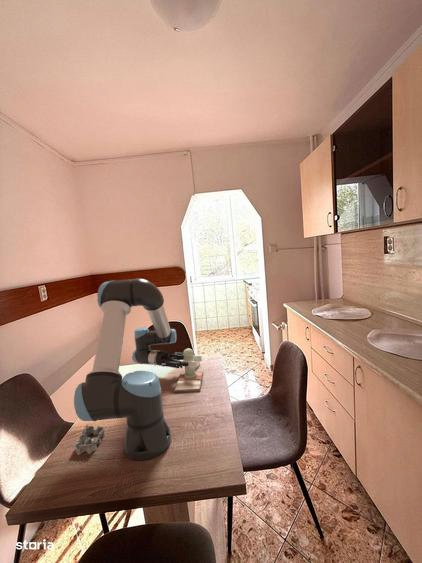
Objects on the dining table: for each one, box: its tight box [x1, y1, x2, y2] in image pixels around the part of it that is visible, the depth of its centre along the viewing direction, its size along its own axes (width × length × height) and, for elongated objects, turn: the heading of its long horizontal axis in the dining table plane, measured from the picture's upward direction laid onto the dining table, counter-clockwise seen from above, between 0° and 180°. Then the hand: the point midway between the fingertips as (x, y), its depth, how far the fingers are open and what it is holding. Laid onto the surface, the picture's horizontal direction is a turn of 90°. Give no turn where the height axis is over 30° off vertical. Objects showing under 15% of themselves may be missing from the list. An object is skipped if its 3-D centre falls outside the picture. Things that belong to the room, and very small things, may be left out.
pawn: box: [182, 348, 198, 379], centre depth 131 cm, size 6×6×14 cm
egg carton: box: [73, 424, 106, 456], centre depth 89 cm, size 11×8×4 cm
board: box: [173, 371, 204, 394], centre depth 127 cm, size 18×12×1 cm, turn 177°
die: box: [195, 361, 201, 369], centre depth 146 cm, size 5×5×5 cm
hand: (198, 361), depth 128 cm, fingers open, 7 cm apart
